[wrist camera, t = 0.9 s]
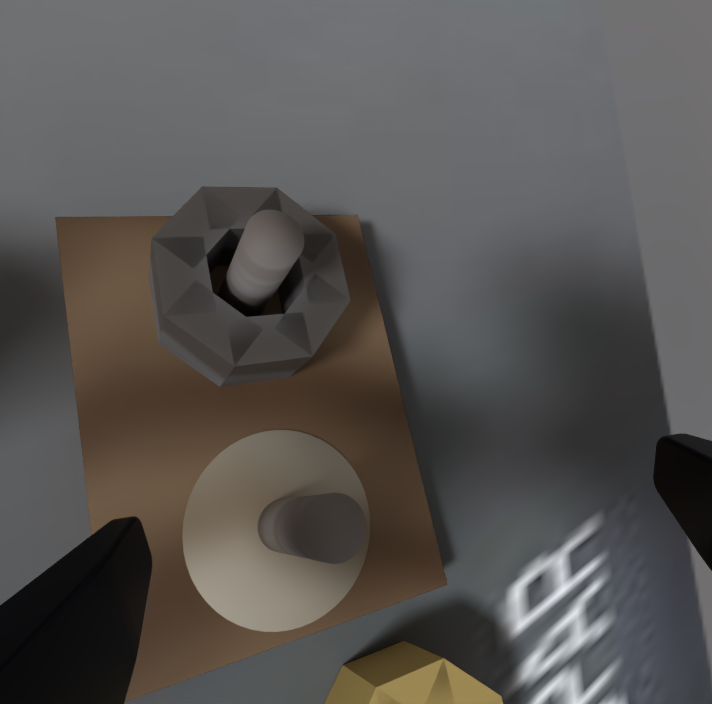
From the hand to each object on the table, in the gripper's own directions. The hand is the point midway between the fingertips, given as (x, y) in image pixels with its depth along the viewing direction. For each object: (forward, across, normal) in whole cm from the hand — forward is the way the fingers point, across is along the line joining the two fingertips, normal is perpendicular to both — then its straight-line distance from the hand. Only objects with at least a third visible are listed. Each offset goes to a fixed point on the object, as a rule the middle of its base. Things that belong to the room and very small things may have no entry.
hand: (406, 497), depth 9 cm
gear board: (+12, +4, +4) cm, 13 cm away
